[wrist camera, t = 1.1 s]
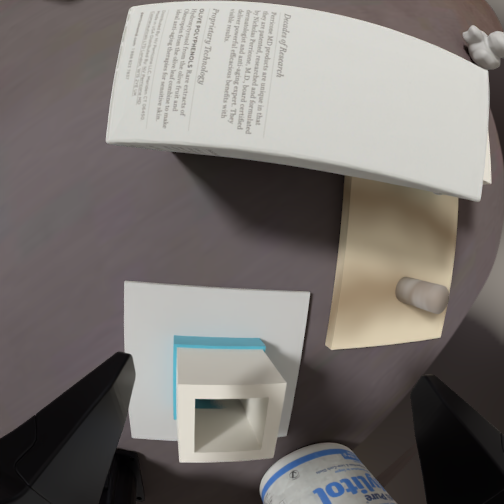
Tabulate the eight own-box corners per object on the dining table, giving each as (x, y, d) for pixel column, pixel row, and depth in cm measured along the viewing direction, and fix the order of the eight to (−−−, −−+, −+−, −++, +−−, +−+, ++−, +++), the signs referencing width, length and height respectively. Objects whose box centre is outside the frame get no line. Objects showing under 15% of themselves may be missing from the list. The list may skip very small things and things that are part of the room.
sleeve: (251, 407, 20) (276, 459, 14) (173, 407, 19) (175, 464, 13) (259, 337, 20) (291, 379, 14) (173, 335, 19) (173, 380, 13)
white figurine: (486, 83, 25) (532, 68, 17) (453, 49, 23) (501, 27, 15) (484, 56, 25) (526, 40, 17) (452, 24, 23) (495, 2, 15)
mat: (285, 433, 22) (286, 436, 21) (132, 434, 19) (131, 437, 18) (307, 291, 21) (310, 292, 20) (125, 280, 18) (124, 281, 18)
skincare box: (177, 58, 16) (415, 93, 16) (164, 156, 18) (406, 188, 18) (125, 0, 8) (492, 65, 8) (98, 154, 10) (486, 208, 10)
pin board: (433, 334, 24) (470, 350, 20) (325, 344, 22) (360, 372, 17) (448, 125, 23) (486, 115, 18) (346, 81, 20) (383, 55, 15)
